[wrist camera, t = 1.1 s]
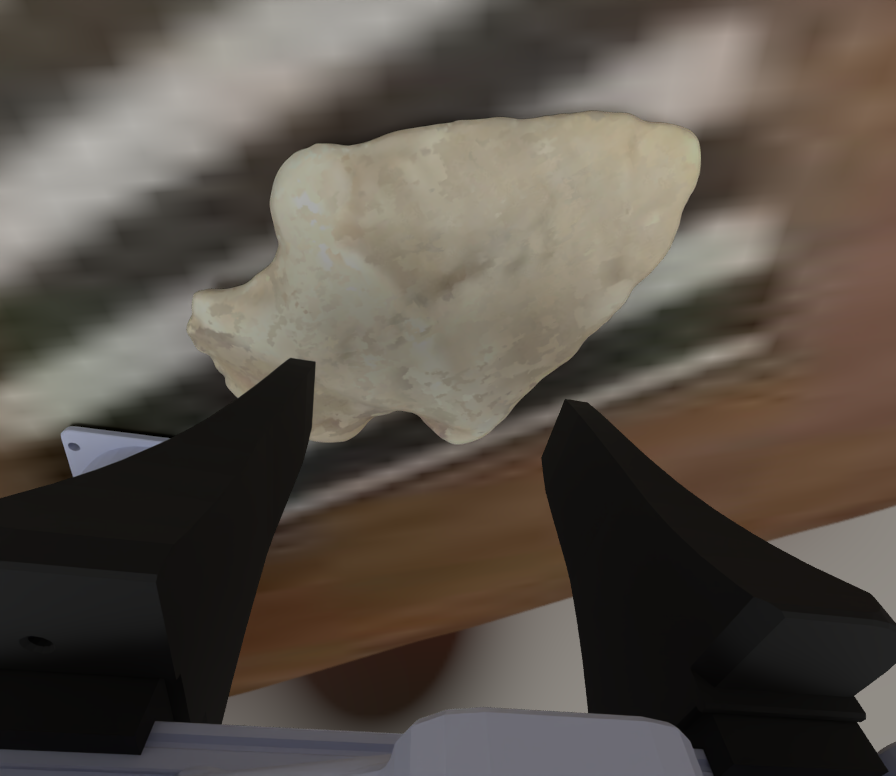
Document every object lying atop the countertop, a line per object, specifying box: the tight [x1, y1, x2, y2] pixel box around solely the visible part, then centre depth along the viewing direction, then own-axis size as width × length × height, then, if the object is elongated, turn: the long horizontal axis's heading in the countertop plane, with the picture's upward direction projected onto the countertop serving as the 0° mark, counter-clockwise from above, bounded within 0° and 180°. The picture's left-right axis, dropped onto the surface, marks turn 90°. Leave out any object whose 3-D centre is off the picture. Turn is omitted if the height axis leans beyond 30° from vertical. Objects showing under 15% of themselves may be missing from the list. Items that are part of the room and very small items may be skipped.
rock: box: [186, 111, 701, 444], centre depth 19 cm, size 4×13×20 cm
